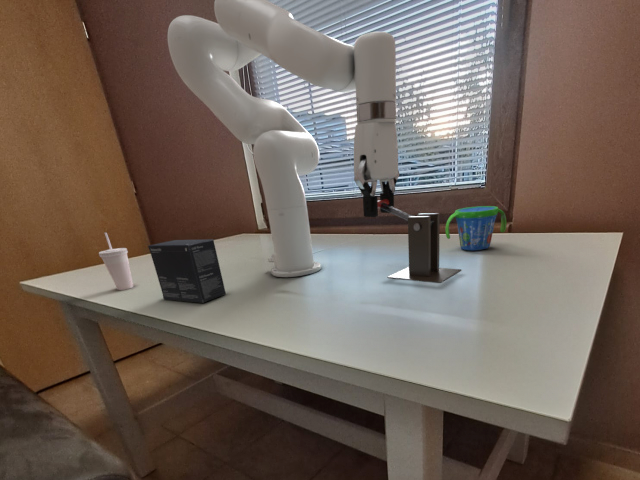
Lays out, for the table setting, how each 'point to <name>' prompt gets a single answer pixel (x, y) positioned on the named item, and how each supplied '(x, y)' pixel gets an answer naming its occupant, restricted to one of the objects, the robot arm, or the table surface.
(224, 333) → the table surface
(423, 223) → the bracket
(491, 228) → the snack cup
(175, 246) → the small box
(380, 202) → the tap lever
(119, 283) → the smoothie
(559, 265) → the table surface
